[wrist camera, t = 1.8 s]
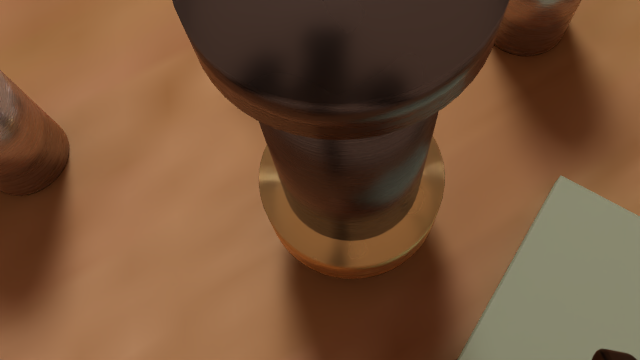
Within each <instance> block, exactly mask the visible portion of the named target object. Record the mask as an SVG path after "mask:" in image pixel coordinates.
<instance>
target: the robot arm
mask: <svg viewBox="0 0 640 360" xmlns="http://www.w3.org/2000/svg"><path fill="white" fill-rule="evenodd" d="M592 360H637V359H636V358H635V357H634V356H632V355H631V354H628V353H624V352H619V351H614V350H609V349H604V348H601V349H599V350H597V351H596V352H595V354H594V355H593V358H592Z"/></svg>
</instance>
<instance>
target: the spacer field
mask: <svg viewBox="0 0 640 360" xmlns="http://www.w3.org/2000/svg"><path fill="white" fill-rule="evenodd" d="M580 2H581V0H509V3H508V6H507V9H506V11H505V14H504V17H503V20H502V23H501V25H500V28H499V31H498V34H497V37H496V39H495V42H494V45H496V46H497V47H498V48H500V49H502V50H504V51H506V52H508V53H511V54H515V55H522V56H531V55H537V54H541V53H544V52H546V51H548V50H550V49H551V48H553V47H554V46H555V45H556V44H557V43H558V42H559V41H560V39H561V38H562V36H563V34H564V32H565V30H566V28H567V27H568V25H569V23H570V21H571V19H572V17H573V15H574V13H575V11H576V10H577V8H578V6H579V4H580ZM68 155H69V142H68V139H67V136H66V134H65V132H64V131H63V129H62V128H61V127H60V126H59V125H58V124H57V123H56V122H55V121H54V120H53V119H52V118H51V117H49V116H48V115H47V114H46V113H45V112H44V111H43V110H42V109H41V108H40V107H39V106H38V105H37V104H36V103H35V102H34V101H32V100H31V99H30V98H29V97H28V96H27V95H26V94H25V93H24V92H23V91H22V90H21V89H20V88H19V87H18V86H17V85H16V84H14V83H13V82H12V81H11V80H10V79H9V78H8V77H7V76H6V75H5V74H4V73H3V72H2V71H1V70H0V191H2V192H4V193H7V194H11V195H28V194H32V193H35V192H38V191H40V190H42V189H44V188H45V187H47V186H48V185H50V184H51V183H52V182H53V181H54V180H55V179H56V178H57V177H58V176H59V175H60V173H61V172H62V170H63V169H64V167H65V165H66V162H67V159H68Z"/></svg>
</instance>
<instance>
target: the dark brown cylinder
mask: <svg viewBox="0 0 640 360" xmlns="http://www.w3.org/2000/svg"><path fill="white" fill-rule="evenodd" d="M172 1H173V4H174V7H175V10H176V12H177V14H178V16H179V18H180V21H181V23H182V25H183V27H184V29H185V31H186V34H187V36H188V38H189V40H190V42H191V44H192V46H193V49H194V51H195V53H196V55H197V57H198V59H199V61H200V64H201V66H202V68H203V69H204V71H205V72H206V74H207V76H208V77H209V79H210V80H211V82H212V83H213V84H214V85H215V86H216V88H217V89H218V90H219V91H220V92H221V93H222V94H223V95H224V97H226V98H227V99H228V100H229V101H230V102H231V103H233V104H234V105H235V106H236V107H237V108H239V109H240V110H241V111H243V112H245V113H246V114H248V115H249V116H251V117H253V118H254V119H256V120H258V121H259V123H260V126H261V129H262V131H263V134H264V137H265V140H266V143H267V145H266V148H265V150H264V152H263V156H262V160H261V163H260V170H259V189H260V196H261V200H262V203H263V206H264V209H265V211H266V213H267V216H268V218H269V220H270V222H271V224H272V226H273V228H274V230H275V232H276V234H277V236H278V238H279V239H280V241H281V243H282V244H283V245H284V247H285V248H286V249H287V250H288V251H289V253H291V254H292V255H293V256H294V257H295V258H296V259H297V260H298V261H300V262H301V263H303V264H304V265H306V266H307V267H309V268H311V269H313V270H315V271H317V272H319V273H322V274H325V275H328V276H333V277H337V278H346V279H359V278H367V277H372V276H376V275H379V274H383V273H386V272H388V271H390V270H392V269H394V268H396V267H398V266H399V265H401V264H402V263H404V262H405V261H406V260H408V259H409V258H410V257H411V256H412V255H413V254H414V253H415V252H416V251H417V250H418V249H419V248H420V247H421V245H422V244H423V242H424V241H425V239H426V238H427V236H428V234H429V232H430V230H431V228H432V226H433V223H434V221H435V218H436V215H437V213H438V210H439V207H440V204H441V201H442V198H443V192H444V186H445V172H444V164H443V160H442V156H441V152H440V150H439V147H438V145H437V143H436V141H435V139H434V137H433V136H432V135H433V131H434V127H435V123H436V119H437V115H438V111H439V110H441V109H443V108H444V107H445V106H446V105H448V104H449V103H450V102H451V101H453V100H454V99H455V98H456V97H458V96H459V95H460V94H461V93H462V92H463V91H464V90H465V88H466V87H467V86H468V85H469V84H470V83H471V82H472V81H473V80H474V78H475V77H476V76H477V74H478V73H479V71H480V70H481V68H482V67H483V65H484V64H485V62H486V60H487V58H488V56H489V54H490V52H491V50H492V48H493V45H494V42H495V39H496V37H497V34H498V31H499V28H500V25H501V23H502V20H503V17H504V14H505V11H506V9H507V6H508V3H509V0H172Z"/></svg>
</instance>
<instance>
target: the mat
mask: <svg viewBox="0 0 640 360" xmlns="http://www.w3.org/2000/svg"><path fill="white" fill-rule="evenodd" d="M601 348H604V349H609V350H614V351H619V352H624V353H628V354H631V355H632V356H634V357H635V358H636V359H637V360H640V216H638V215H636V214H634V213H632V212H630V211H628V210H626V209H624V208H622V207H621V206H619V205H617V204H615V203H613V202H611V201H609V200H607V199H605V198H603V197H601V196H599V195H598V194H596V193H594V192H592V191H590V190H588V189H586V188H584V187H582V186H580V185H578V184H576V183H575V182H573V181H571V180H569V179H567V178H565V177H563V176H560V177H559V178H558V179H557V181H556V182H555V184H554V186H553V187H552V189H551V191H550V193H549V195H548V196H547V198H546V200H545V202H544V204H543V205H542V207H541V209H540V211H539V213H538V215H537V216H536V218H535V220H534V222H533V224H532V225H531V227H530V229H529V231H528V233H527V234H526V236H525V238H524V240H523V242H522V244H521V245H520V247H519V249H518V251H517V253H516V254H515V256H514V258H513V260H512V262H511V263H510V265H509V267H508V269H507V271H506V272H505V274H504V276H503V278H502V280H501V282H500V283H499V285H498V287H497V289H496V291H495V292H494V294H493V296H492V298H491V300H490V301H489V303H488V305H487V307H486V309H485V311H484V312H483V314H482V316H481V318H480V320H479V321H478V323H477V325H476V327H475V329H474V330H473V332H472V334H471V336H470V338H469V339H468V341H467V343H466V345H465V347H464V349H463V350H462V352H461V354H460V356H459V358H458V359H457V360H592V358H593V355H594V354H595V352H596V351H597V350H599V349H601Z"/></svg>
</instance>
